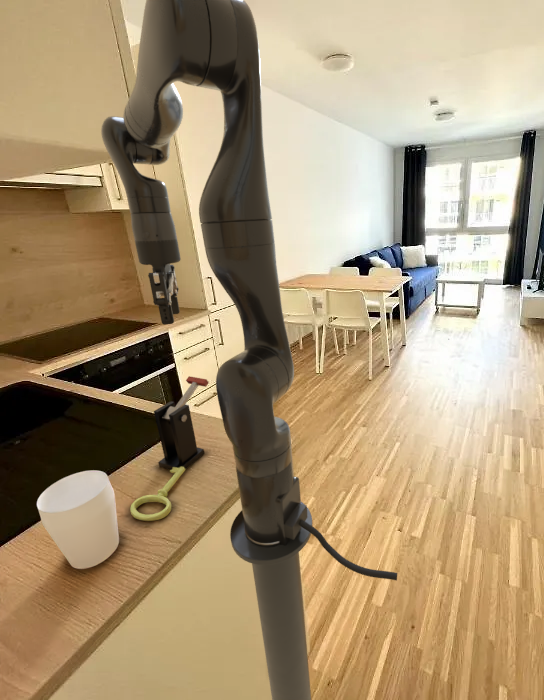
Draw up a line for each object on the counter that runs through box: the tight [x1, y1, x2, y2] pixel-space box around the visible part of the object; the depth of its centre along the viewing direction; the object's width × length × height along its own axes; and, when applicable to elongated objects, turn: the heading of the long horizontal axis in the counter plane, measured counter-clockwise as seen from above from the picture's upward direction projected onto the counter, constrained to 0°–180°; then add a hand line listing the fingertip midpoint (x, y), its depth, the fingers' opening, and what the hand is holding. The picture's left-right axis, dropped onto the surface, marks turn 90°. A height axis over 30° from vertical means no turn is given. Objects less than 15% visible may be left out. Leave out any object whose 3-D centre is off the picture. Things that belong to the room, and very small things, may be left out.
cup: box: [36, 469, 120, 570], centre depth 55 cm, size 9×9×12 cm
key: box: [129, 467, 186, 522], centre depth 67 cm, size 7×12×2 cm, turn 6°
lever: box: [162, 376, 210, 424], centre depth 76 cm, size 11×5×2 cm, turn 157°
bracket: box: [153, 401, 205, 471], centre depth 75 cm, size 7×6×13 cm
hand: (171, 318), depth 75 cm, fingers open, 8 cm apart
